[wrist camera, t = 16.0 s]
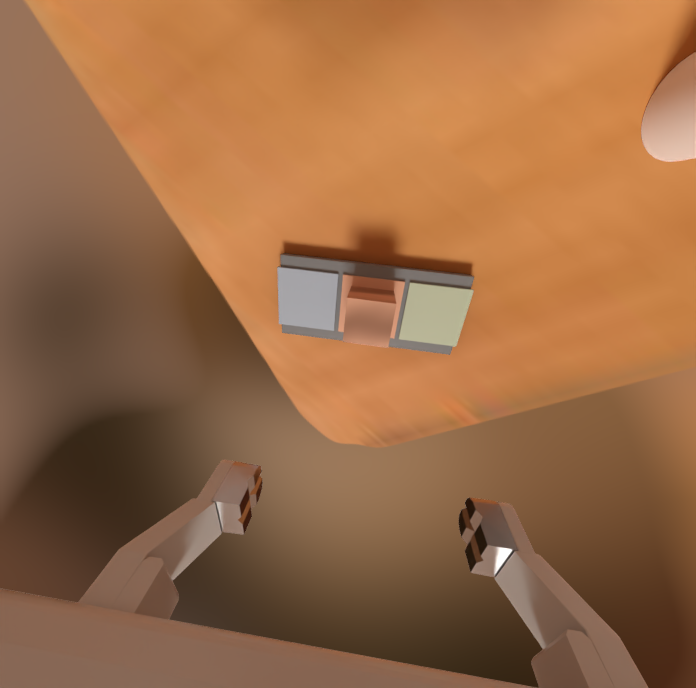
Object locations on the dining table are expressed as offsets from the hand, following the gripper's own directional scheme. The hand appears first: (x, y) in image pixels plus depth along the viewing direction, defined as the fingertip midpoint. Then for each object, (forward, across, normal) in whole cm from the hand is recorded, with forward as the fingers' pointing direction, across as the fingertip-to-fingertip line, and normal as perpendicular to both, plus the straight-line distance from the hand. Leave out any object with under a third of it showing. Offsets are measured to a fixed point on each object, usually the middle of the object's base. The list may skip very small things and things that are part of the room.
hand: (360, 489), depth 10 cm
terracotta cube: (+21, 0, 0) cm, 21 cm away
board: (+22, 0, 0) cm, 22 cm away
